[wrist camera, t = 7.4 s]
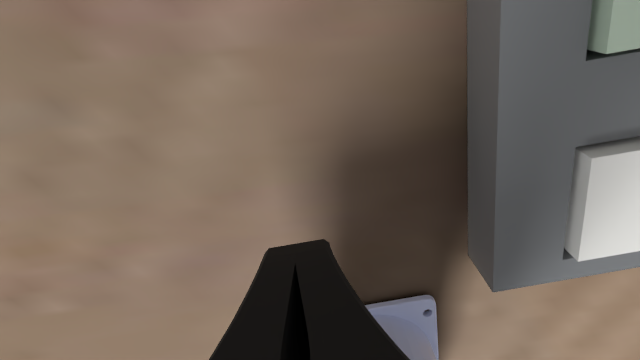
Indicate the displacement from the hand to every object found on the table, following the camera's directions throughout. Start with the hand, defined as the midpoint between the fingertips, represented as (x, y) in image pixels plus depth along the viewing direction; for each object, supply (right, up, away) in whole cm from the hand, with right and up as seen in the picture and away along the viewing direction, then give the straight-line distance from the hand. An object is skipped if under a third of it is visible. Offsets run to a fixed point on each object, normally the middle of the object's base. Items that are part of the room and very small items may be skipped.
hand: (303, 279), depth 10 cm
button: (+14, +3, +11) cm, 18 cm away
